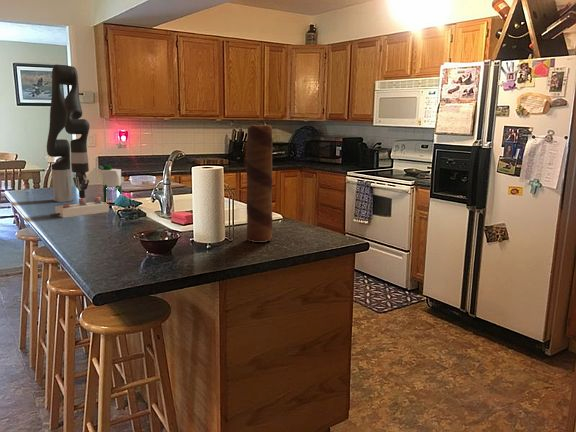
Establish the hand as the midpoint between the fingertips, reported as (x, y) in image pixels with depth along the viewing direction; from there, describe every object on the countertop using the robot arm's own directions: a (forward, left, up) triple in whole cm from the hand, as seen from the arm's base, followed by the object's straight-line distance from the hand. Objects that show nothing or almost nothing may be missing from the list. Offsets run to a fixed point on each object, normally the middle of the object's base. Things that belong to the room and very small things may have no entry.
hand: (82, 197), depth 230 cm
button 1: (0, -7, -5) cm, 9 cm away
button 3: (0, +8, -3) cm, 8 cm away
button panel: (0, -2, -8) cm, 8 cm away
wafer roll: (+94, +30, -8) cm, 99 cm away
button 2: (0, 0, -3) cm, 3 cm away
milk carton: (-18, +24, -8) cm, 31 cm away
